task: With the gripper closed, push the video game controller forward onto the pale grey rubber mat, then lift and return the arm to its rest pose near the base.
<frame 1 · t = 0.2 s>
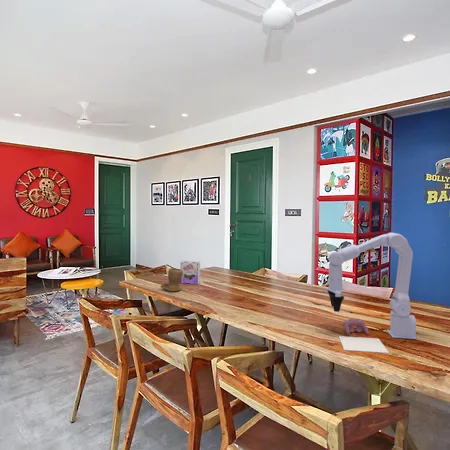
hand: (335, 308, 147), 10 cm above the table, tool pointing down, fingers open, 7 cm apart
video game controller: (355, 333, 145), on the table
brown hat: (173, 290, 226), on the table
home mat: (362, 344, 132), on the table
candy box: (190, 283, 246), on the table
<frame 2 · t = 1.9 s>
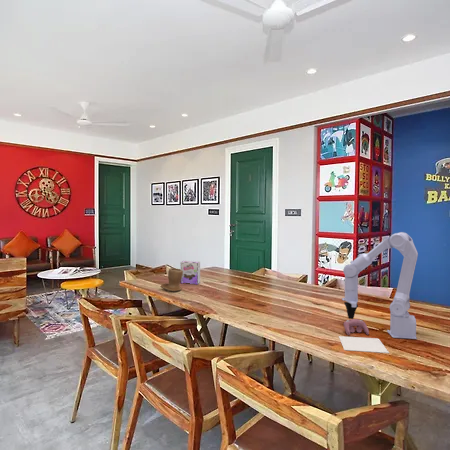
hand: (350, 318, 154), 3 cm above the table, tool pointing down, fingers closed
nothing on the table moved.
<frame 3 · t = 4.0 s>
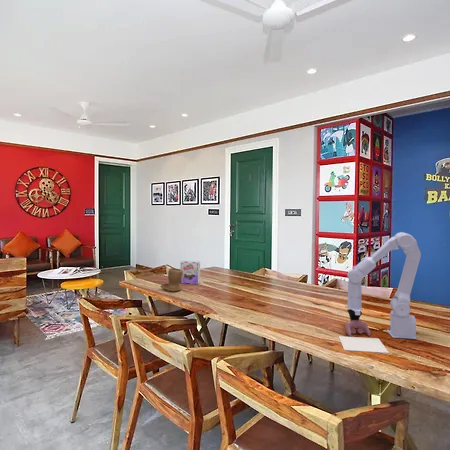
hand: (354, 326, 147), 2 cm above the table, tool pointing down, fingers closed, pressing on video game controller
video game controller: (357, 334, 143), on the table, touching gripper
everything else where it was.
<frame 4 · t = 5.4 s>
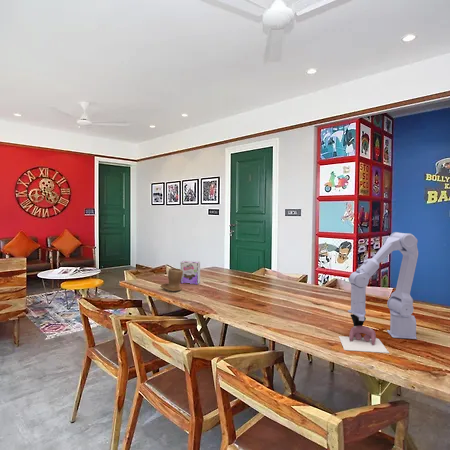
hand: (357, 332, 140), 2 cm above the table, tool pointing down, fingers closed
video game controller: (362, 341, 135), resting on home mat, touching gripper
everything else where it was.
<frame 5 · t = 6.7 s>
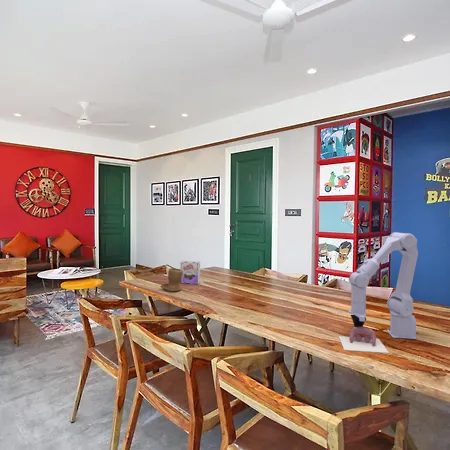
hand: (358, 332, 139), 2 cm above the table, tool pointing down, fingers closed
video game controller: (362, 342, 134), resting on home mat
everything else where it was.
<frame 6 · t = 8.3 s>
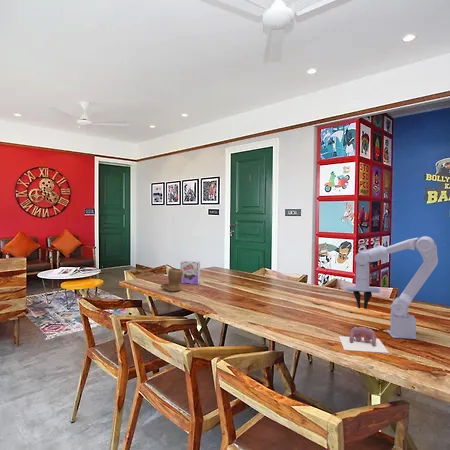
hand: (362, 307, 150), 9 cm above the table, tool pointing down, fingers closed
nothing on the table moved.
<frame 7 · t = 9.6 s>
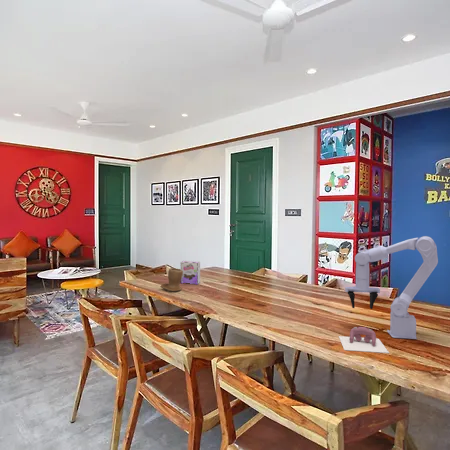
hand: (362, 307, 150), 9 cm above the table, tool pointing down, fingers open, 7 cm apart
nothing on the table moved.
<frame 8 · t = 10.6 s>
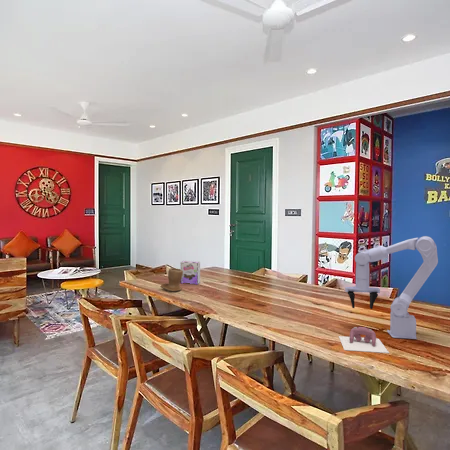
hand: (362, 307, 150), 9 cm above the table, tool pointing down, fingers open, 7 cm apart
nothing on the table moved.
at the end: video game controller inside the target area on the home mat (1.7 cm from its centre), point 0.0 cm above the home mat's base; video game controller moved 11.5 cm from its start; video game controller tilted 0° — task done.
